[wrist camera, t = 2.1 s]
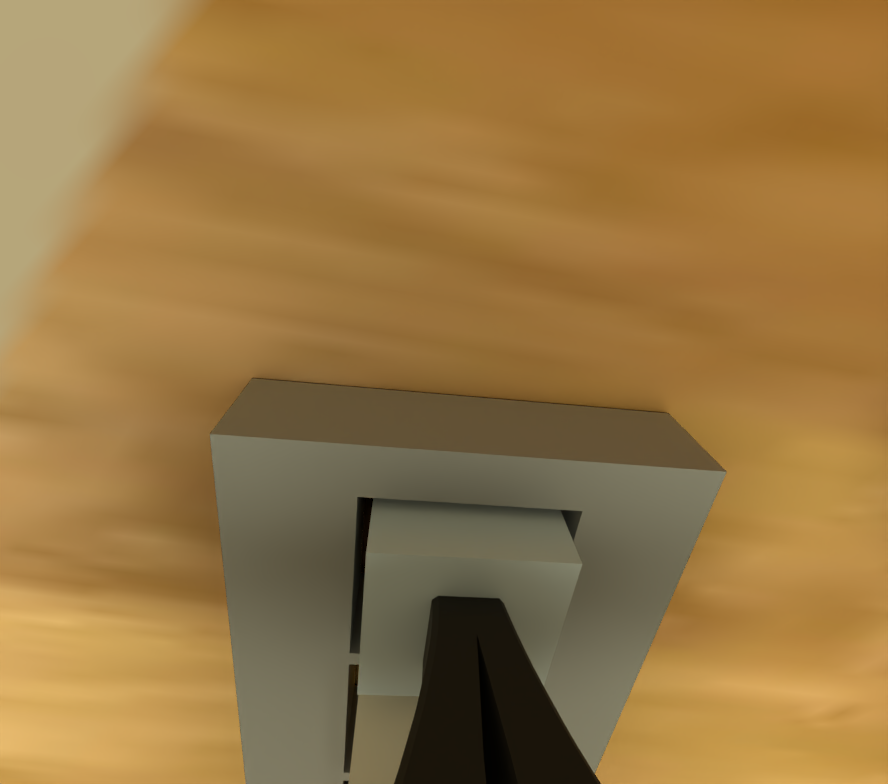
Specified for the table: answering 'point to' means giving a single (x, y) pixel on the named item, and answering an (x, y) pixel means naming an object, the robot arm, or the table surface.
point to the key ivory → (380, 737)
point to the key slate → (459, 580)
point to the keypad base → (436, 480)
